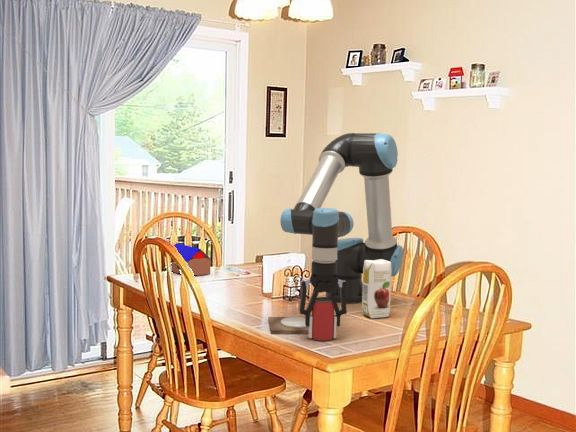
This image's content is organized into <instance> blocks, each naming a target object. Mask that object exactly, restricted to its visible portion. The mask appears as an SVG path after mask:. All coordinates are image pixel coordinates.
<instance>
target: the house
mask: <svg viewBox="0 0 576 432" xmlns="http://www.w3.org/2000/svg"><path fill="white" fill-rule="evenodd" d="M173 246H175V247H176V248H177V250H178V252H179V253H180V254H181V255H182V257H183V258H184V259H185V261H186V262H187V263H188V265H189V267H190V268H191V269H192V271H193V273H194V275H197V276H205V275H210V274H211V260H212V258H211V257H210V256H209V255H208V254H207V253H205V252H204V251H203V250H202V249H201V248H198V247H193V246H192V245H191V246H190V245H187V244H182V243H179V242H176V243H175V244H174V245H173ZM171 266H172V271H173V272H172V271H171V272H172V273H174V274H178V273H180V271H179V269H178V268H177V266H176V265H175V264H174V263H173V262H172V264H171Z"/></svg>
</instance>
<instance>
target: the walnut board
mask: <svg viewBox="0 0 576 432" xmlns="http://www.w3.org/2000/svg"><path fill="white" fill-rule="evenodd" d="M290 317H291V316H268V320H267V322H268V326H269V331H270V335H308V333H309V328H291V327H286V326H283V325H282V324H281V320H282V319H285V318H290ZM302 317H303V318H305V316H302Z"/></svg>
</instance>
